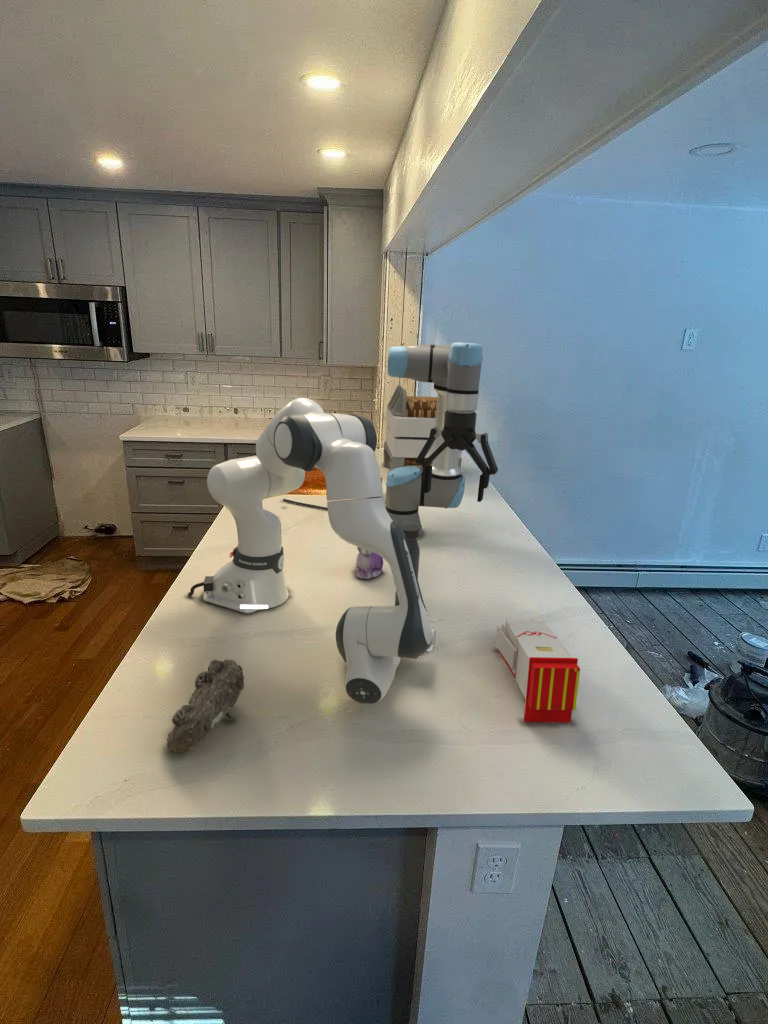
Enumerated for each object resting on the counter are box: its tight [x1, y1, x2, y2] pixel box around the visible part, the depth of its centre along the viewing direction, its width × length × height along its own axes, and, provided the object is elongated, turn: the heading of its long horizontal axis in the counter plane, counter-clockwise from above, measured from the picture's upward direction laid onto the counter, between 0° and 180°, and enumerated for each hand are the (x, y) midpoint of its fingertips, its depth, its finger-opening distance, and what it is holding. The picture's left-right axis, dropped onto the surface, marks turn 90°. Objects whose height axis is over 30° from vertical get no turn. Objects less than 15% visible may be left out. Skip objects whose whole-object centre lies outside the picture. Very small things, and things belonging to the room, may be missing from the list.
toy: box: [494, 619, 581, 724], centre depth 121 cm, size 12×13×30 cm
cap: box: [401, 524, 420, 539], centre depth 136 cm, size 4×4×2 cm
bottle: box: [394, 538, 421, 606], centre depth 140 cm, size 5×5×25 cm
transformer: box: [383, 384, 463, 472], centre depth 268 cm, size 34×33×41 cm
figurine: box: [355, 546, 384, 580], centre depth 167 cm, size 9×10×15 cm
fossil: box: [166, 658, 245, 754], centre depth 106 cm, size 22×10×15 cm
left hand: (397, 616), depth 134 cm, fingers open, 8 cm apart
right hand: (453, 496), depth 141 cm, fingers open, 13 cm apart
